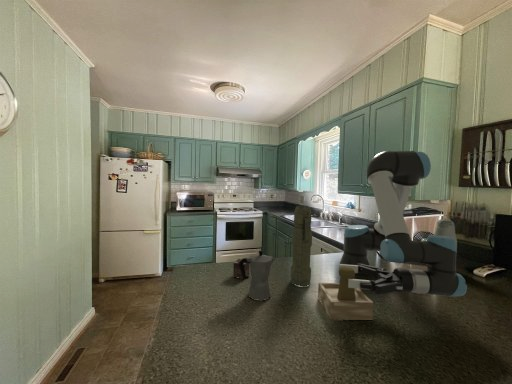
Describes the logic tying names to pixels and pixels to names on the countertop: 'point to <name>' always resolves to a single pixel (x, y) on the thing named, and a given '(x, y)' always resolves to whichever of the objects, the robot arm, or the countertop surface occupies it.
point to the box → (237, 269)
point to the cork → (346, 284)
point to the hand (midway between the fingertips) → (343, 274)
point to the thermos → (301, 246)
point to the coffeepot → (258, 275)
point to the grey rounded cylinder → (446, 229)
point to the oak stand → (344, 303)
